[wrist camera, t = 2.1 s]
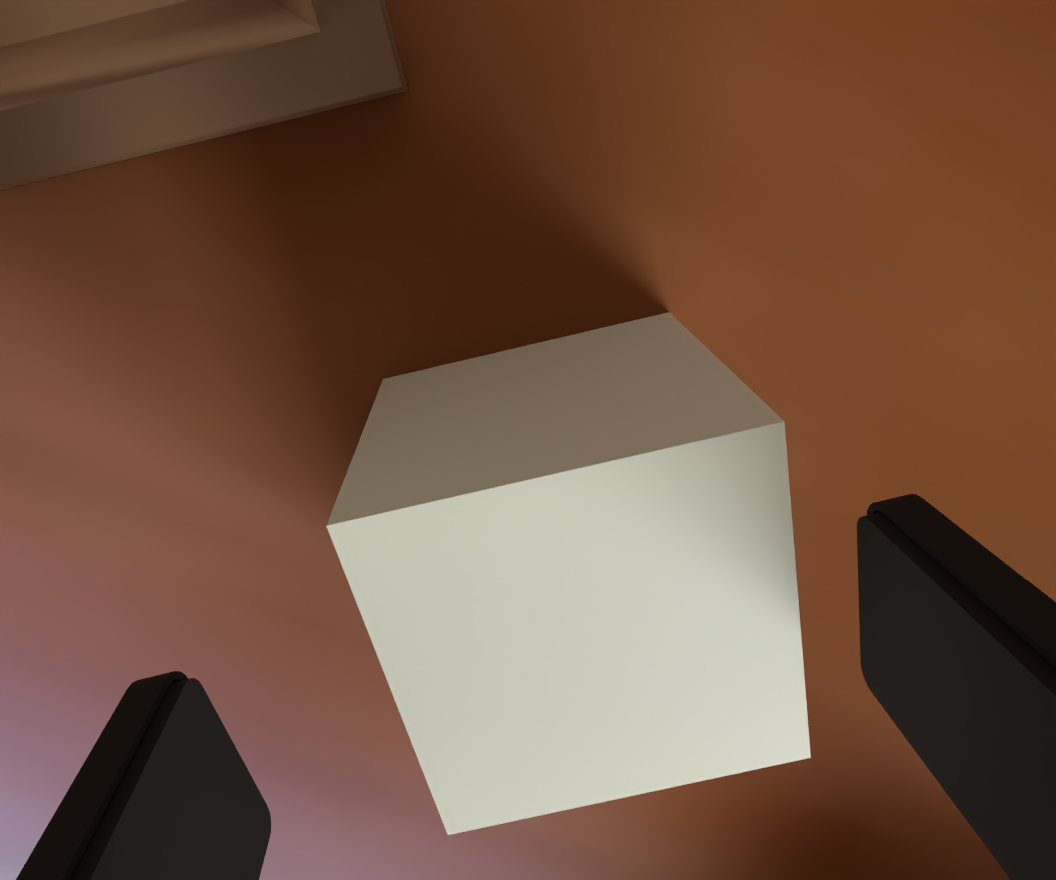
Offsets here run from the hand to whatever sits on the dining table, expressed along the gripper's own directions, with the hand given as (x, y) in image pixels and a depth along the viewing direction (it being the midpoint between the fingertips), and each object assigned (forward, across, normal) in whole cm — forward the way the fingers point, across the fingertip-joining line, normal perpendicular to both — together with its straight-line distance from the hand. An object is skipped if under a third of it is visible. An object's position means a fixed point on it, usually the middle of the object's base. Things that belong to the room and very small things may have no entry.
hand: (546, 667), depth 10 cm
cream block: (+6, -1, 0) cm, 6 cm away
